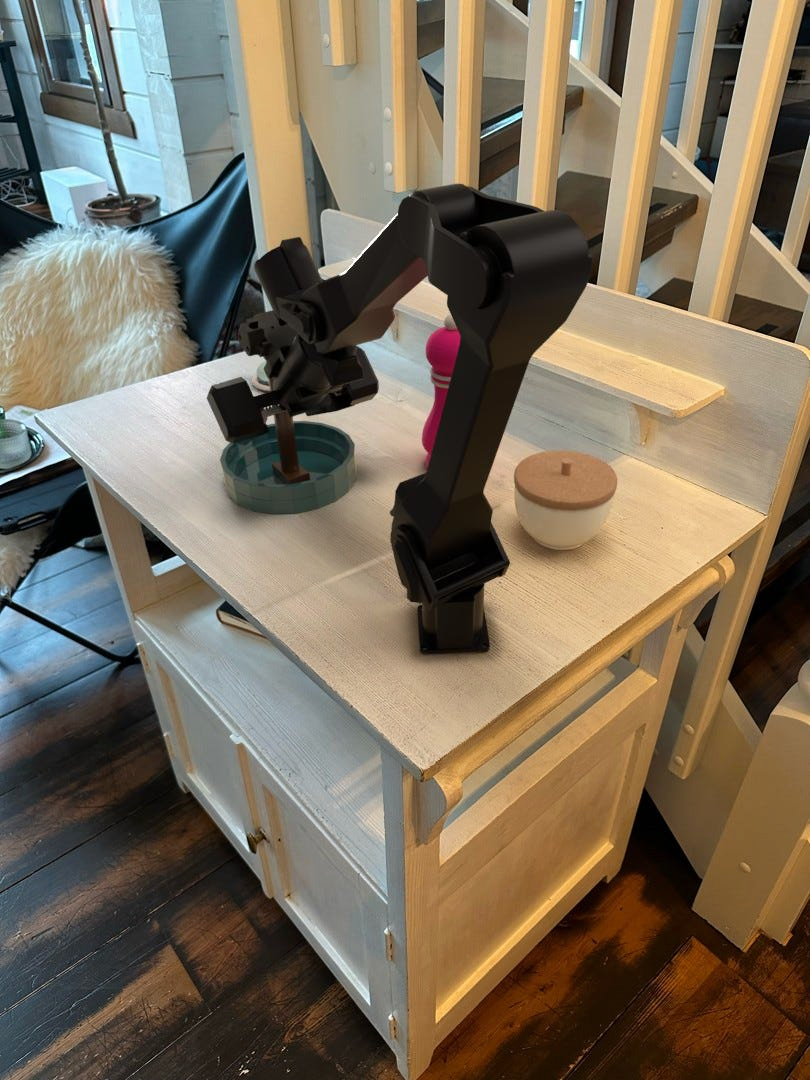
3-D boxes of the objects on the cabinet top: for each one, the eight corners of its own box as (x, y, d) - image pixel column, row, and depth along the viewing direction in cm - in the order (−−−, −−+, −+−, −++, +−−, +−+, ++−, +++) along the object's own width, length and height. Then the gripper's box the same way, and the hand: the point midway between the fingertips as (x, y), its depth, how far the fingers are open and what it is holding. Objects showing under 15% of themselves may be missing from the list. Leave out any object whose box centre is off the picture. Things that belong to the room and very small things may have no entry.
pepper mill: (475, 486, 93) (480, 327, 81) (417, 481, 94) (414, 324, 83) (482, 457, 99) (487, 305, 87) (427, 452, 100) (425, 302, 88)
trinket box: (581, 576, 78) (591, 500, 73) (492, 541, 84) (495, 467, 78) (624, 526, 85) (636, 454, 80) (539, 497, 90) (545, 427, 85)
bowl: (355, 517, 88) (352, 484, 86) (216, 522, 88) (209, 489, 86) (358, 449, 101) (356, 418, 99) (237, 453, 101) (232, 423, 99)
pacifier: (267, 398, 115) (301, 385, 118) (260, 359, 112) (295, 347, 114) (245, 382, 120) (277, 371, 123) (237, 345, 116) (271, 334, 119)
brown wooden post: (310, 482, 93) (297, 372, 85) (290, 489, 92) (275, 379, 84) (292, 466, 97) (278, 359, 88) (272, 473, 95) (256, 365, 87)
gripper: (359, 274, 82) (319, 342, 96) (195, 312, 73) (177, 381, 87) (402, 366, 81) (355, 421, 95) (242, 415, 73) (216, 467, 87)
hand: (279, 420), depth 91 cm, fingers open, 7 cm apart
